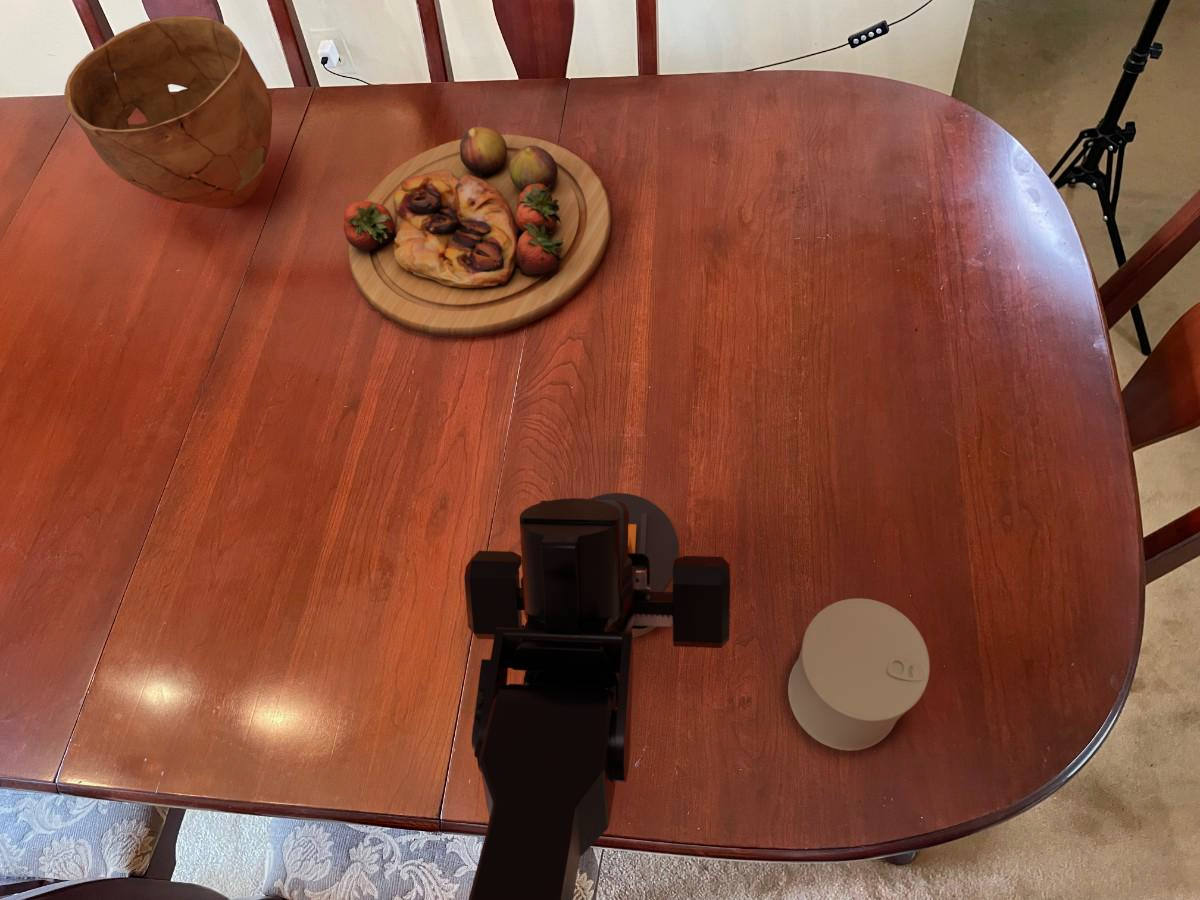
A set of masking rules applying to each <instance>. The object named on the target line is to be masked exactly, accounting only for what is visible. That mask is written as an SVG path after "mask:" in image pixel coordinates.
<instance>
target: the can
mask: <svg viewBox="0 0 1200 900" xmlns="http://www.w3.org/2000/svg"><path fill="white" fill-rule="evenodd" d="M930 666H931V665H930V656H929V650H928V648H927V644H926V642H925V640H924V638H923V636H922V634H921V633H920V631H919V629H918V628H917V627H916V626H915V625H914V623H913V622H912V621H911V620H910V619H909V618H908V617H907V616H906V615H904V614H903V613H902V612H900V611H899V610H898V609H896V608H895V607H892V606H891V605H889V604H887V603H884V602H882V601H879V600H874V599H870V598H861V597H859V598H858V597H857V598H847V599H843V600H839V601H836V602H833V603H831V604H829V605H828V606H826V607H825V608H823V609H822V610H821V611H819V612H818V613H817V614H816V615H815V616H814V617H813V619H812V620H811V621H810V623H809V624H808V625H807V627H806V630H805V632H804V635H803V639H802V643H801V649H800V652H799V655H798V658H797V660H796V662H795V663H794V665H793V667H792V669H791V672H790V675H789V679H788V685H787V687H788V688H787V694H788V701H789V705H790V709H791V710H792V713H793V715H794V717H795V719H796V721H797V722H798V724H799V725H800V727H801V728H802V729H803V730H804V731H805V732H806V733H807V734H808V735H809V736H810V737H812V738H813V739H814V740H815V741H816V742H819V743H820V744H823V745H824V746H827V747H829V748H832V749H835V750H840V751H851V752H852V751H860V750H865V749H868V748H871V747H873V746H875V745H876V744H879V743H880V742H881V741H883V740H884V739H885V738H886V737H887V736H888V735H889V734H890V733H891V731H892V730H893V728H894V727H895V725H896V723H897V721H899V720H900V718H901V717H902V716H903V715H904V714H905V713H907V712H908V711H910V709H912V708H913V706H915V705H916V704H917V703H918V702H919V700H920V699H921V697H922V696H923V694H924V692H925V690H926V687H927V685H928V682H929V679H930V669H931V667H930Z"/></svg>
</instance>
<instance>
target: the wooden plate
mask: <svg viewBox="0 0 1200 900" xmlns="http://www.w3.org/2000/svg"><path fill="white" fill-rule="evenodd" d="M612 219H613V215H612V207H611V201H610V198H609V194H608V191H607V189H606V188H605V186H604V184H603V182H602V180H601V179H600V177H599V176H598V174H597V173H596V171H594V169H593V168H591V166H590V165H589V164H588V163H587V162H586V161H585V160H584V159H582V158H581V157H580V156H578V155H577V154H575V153H574V152H572V151H570V150H568V149H566V148H564V147H562V146H560V145H557V143H553V142H551V141H547V140H545V139H541V138H537V137H532V136H531V137H530V136H526V135H525V136H524V135H516V134H501V133H500V132H498V131H497V130H496V129H494V128H491V127H488V126H486V125H475V126H471V128H469V129H467V131H466V132H465V134H464V135H463V136H462V138H460V139H457V140H452V141H449V142H446V143H442V144H440V145H438V146H435V147H432V148H429V149H428V150H426V151H423V152H421V153H419V154H417V155H415V156H413V157H412V158H410V159H407V160H406V161H405V162H403V163H402V164H400V165H399V166H398V167H396V168H395V169H394V170H392V171H391V172H389V173H388V174H387V175H386V176H385V177H384V178H383V179H382V180H381V181H379V183H377V184H376V186H375V187H374V188H373V189H372V190H371V191H370V192H369V194H368V195H367V197H365V199H364V200H359V201H356V202H353V203H352V204H349V205H348V207H347V208H346V209H345V212H344V215H343V222H344V223H343V232H344V235H345V239H346V240H347V242H348V247H347V248H348V249H347V250H348V251H347V252H348V264H349V269H350V272H351V276H352V278H353V280H354V283H355V284H356V286H357V288H358V290H359V292H360V294H361V295H362V296H363V298H364V299H365V300H366V302H367V303H368V304H369V305H370V306H371V307H372V308H373V309H374V310H375V311H377V312H378V313H379V314H380V315H382V316H383V317H385V318H386V319H388V320H390V321H392V322H393V323H395V324H396V325H399V326H401V327H403V328H405V329H408V330H411V331H413V332H416V333H421V334H424V335H429V336H434V337H444V338H455V339H456V338H473V337H484V336H490V335H497V334H500V333H501V334H502V333H504V332H508V331H511V330H515V329H517V328H520V327H522V326H526V325H527V324H530V323H532V322H535V321H537V320H538V319H540V318H543V317H544V316H546V315H548V314H550V313H551V312H553V311H554V310H556V309H558V308H559V307H561V306H562V305H563V304H565V303H566V302H567V301H569V299H570V298H572V297H573V296H574V295H575V294H576V293H577V292H579V290H581V288H582V287H583V286H584V285H585V284H586V283H587V282H588V280H590V278H591V277H592V276H593V274H594V273H595V271H596V270H597V268H598V267H599V265H600V263H601V261H602V260H603V258H604V255H605V253H606V250H607V247H608V244H609V241H610V237H611V233H612V221H613V220H612Z"/></svg>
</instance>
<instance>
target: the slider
mask: <svg viewBox="0 0 1200 900" xmlns="http://www.w3.org/2000/svg"><path fill="white" fill-rule="evenodd" d="M636 533H637V525H636V524H628V553H635V551H636Z"/></svg>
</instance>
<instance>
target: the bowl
mask: <svg viewBox="0 0 1200 900" xmlns="http://www.w3.org/2000/svg"><path fill="white" fill-rule="evenodd" d="M170 85H174V86H179V87H182V88H184V89H180V90H178V91H177V92H175V93H174V94H173V93H171V91H170V88H169V86H170ZM63 93H64V94H63V95H64V102H65V107H66V110H67V112H68V113H69V115H70V116H71V117H72V118H73V120H74V121H75V122H76V123H77V124H78V126H79V127H80V128H81V130H82V131H83V133H84V134H85V136H86V137H87V139H88V141H89V143H90V145H91V147H92V148H93V150H94V151H95V153H96V154H97V155H98V157H100V159H101V160H102V162H103V163H104V164H105V165H106V166H107V167H108V168H109V169H110V170H111V171H112V172H113V173H115V174H116V175H117V176H118V177H119V178H121V179H122V180H124V181H125V182H127V183H129V184H130V185H133V186H135V187H137V188H139V189H141V190H143V191H145V192H146V193H149V194H150V195H154V196H156V197H159V198H161V199H164V200H166V201H171V202H176V203H181V204H190V205H195V206H199V207H203V208H209V209H218V210H219V209H220V210H227V209H232V208H236V207H239V206H241V205H242V204H244V203H245V202H246V201H248V200H249V199H250V198H251V197H252V196H253V194H254V193H255V192H256V190H257V188H258V186H259V185H260V184H261V183H260V182H261V179H262V177H263V173H264V169H265V166H266V163H267V159H268V156H269V152H270V149H271V139H272V127H273V105H272V104H273V103H272V98H271V94H270V91H269V89H268V86H267V84H266V82H265V81H264V79H263V77H262V76H261V73H260V72H259V70H258V69H257V66H256V65H255V63H254V61H253V59H252V58H251V56H250V54H249V52H248V50H247V49H246V47H245V46H244V43H243V42H242V41H241V39H239V37H238V35H237V34H236V32H234V31H233V30H232V29H231V28H230V27H229V26H228V25H226V24H224V23H222V22H220V21H218V20H216V19H215V18H214V17H213V18H212V17H209V16H203V15H202V16H201V15H199V16H198V15H169V16H163V17H160V18H156V19H150V20H146V21H144V22H140V23H138V24H136V25H135V26H132V27H130V28H127V29H125V30H123V31H121V32H119V33H117V34H115V35H114V36H112V37H110V38H109V39H108V40H107V41H105V42H104V43H103V44H101V45H99V46H98V47H96V48H95V49H93V50H92V51H91V52H88V53H87V54H86V56H84V57H83V58H82V59H81V60H80V61H79V62H78V63H77V64H75V66H74V68H73V69H72V70H71V72H70V74H69V75H68V77H67V80H66V83H65V86H64V92H63ZM136 109H138V110H139V112H140V113H141V114H142V115H143V117H144V118H145V120H146V122H141V123H133V124H132V123H129V120H128V119H129V118H130V117H131V116H132V114H133V112H134V111H135V110H136ZM193 175H195V176H193Z"/></svg>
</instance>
